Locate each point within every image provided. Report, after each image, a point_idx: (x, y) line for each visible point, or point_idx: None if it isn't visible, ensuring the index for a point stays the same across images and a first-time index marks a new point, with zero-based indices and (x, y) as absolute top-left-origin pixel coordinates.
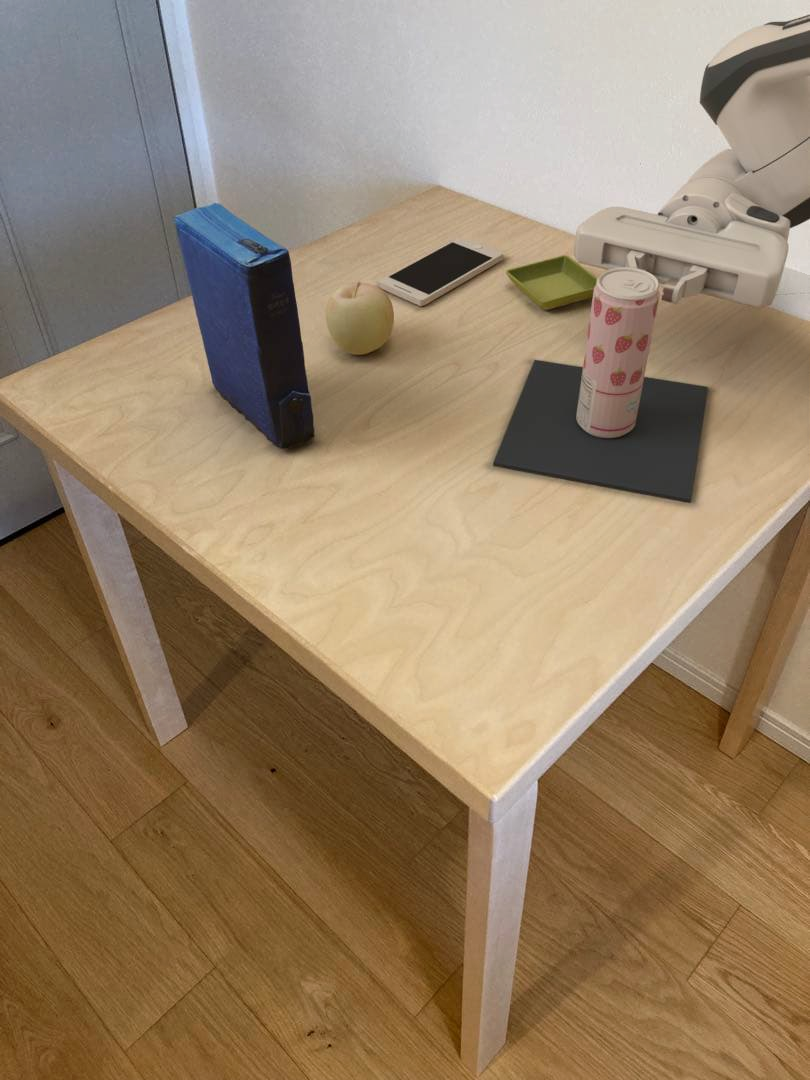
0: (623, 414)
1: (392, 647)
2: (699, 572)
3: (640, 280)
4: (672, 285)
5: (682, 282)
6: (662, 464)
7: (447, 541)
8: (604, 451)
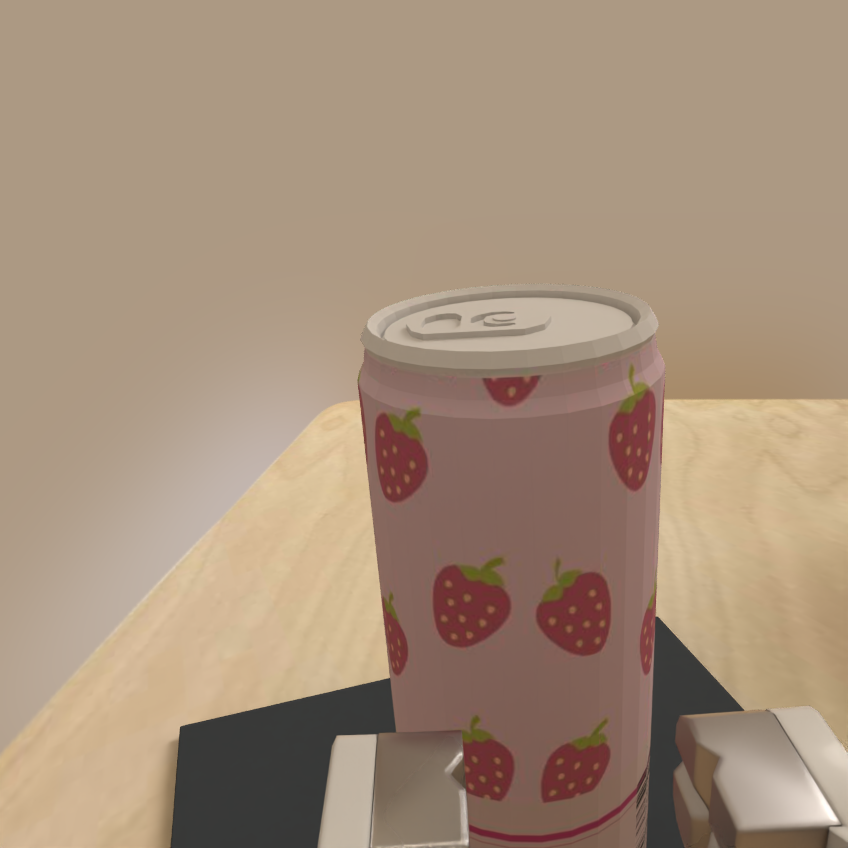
0: None
1: None
2: (156, 608)
3: (471, 344)
4: (399, 735)
5: (335, 806)
6: (275, 801)
7: None
8: None
